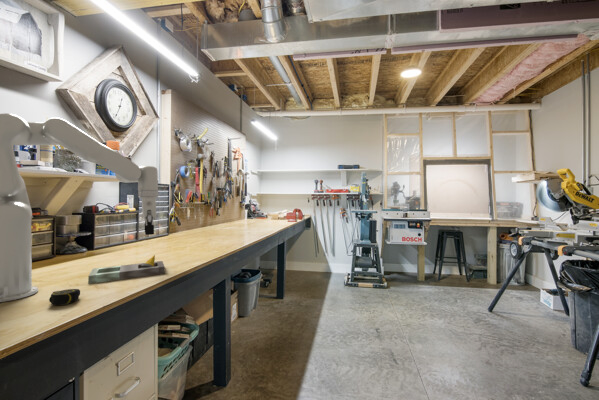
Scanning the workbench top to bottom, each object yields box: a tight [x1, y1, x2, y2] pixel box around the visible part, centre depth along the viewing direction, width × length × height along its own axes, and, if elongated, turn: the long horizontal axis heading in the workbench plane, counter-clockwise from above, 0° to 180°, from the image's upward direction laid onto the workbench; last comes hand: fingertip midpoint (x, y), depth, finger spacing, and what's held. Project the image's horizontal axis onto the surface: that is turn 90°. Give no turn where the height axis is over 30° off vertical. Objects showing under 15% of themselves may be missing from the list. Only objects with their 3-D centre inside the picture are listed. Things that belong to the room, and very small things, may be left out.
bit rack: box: [87, 260, 166, 285], centre depth 112 cm, size 26×12×3 cm, turn 122°
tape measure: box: [48, 288, 81, 306], centre depth 82 cm, size 7×7×4 cm
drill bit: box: [141, 254, 156, 268], centre depth 116 cm, size 5×5×10 cm
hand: (149, 233), depth 116 cm, fingers open, 9 cm apart
